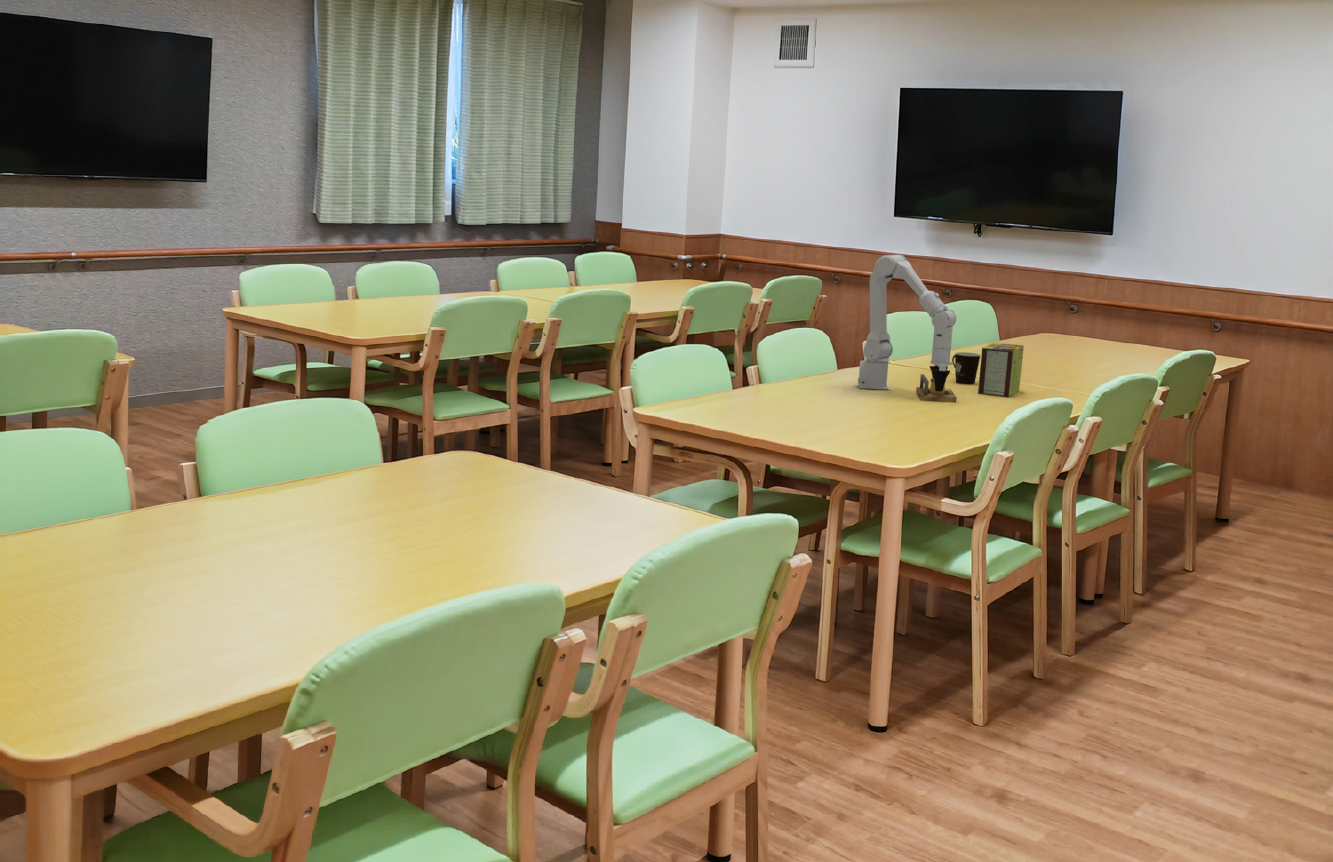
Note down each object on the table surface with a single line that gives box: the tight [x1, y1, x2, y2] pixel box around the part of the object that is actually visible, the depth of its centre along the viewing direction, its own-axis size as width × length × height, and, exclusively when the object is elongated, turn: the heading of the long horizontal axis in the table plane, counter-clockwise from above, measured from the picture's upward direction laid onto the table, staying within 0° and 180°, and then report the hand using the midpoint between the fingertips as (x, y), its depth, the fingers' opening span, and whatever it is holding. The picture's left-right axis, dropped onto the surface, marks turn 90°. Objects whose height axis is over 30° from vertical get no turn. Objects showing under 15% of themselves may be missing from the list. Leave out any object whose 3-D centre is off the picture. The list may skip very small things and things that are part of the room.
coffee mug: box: [951, 351, 982, 385], centre depth 418 cm, size 12×9×10 cm
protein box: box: [977, 342, 1025, 398], centre depth 400 cm, size 10×15×16 cm
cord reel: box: [929, 378, 947, 394], centre depth 387 cm, size 5×5×5 cm
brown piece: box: [915, 373, 958, 403], centre depth 387 cm, size 11×15×6 cm
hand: (937, 389), depth 387 cm, fingers closed on cord reel, 5 cm apart
